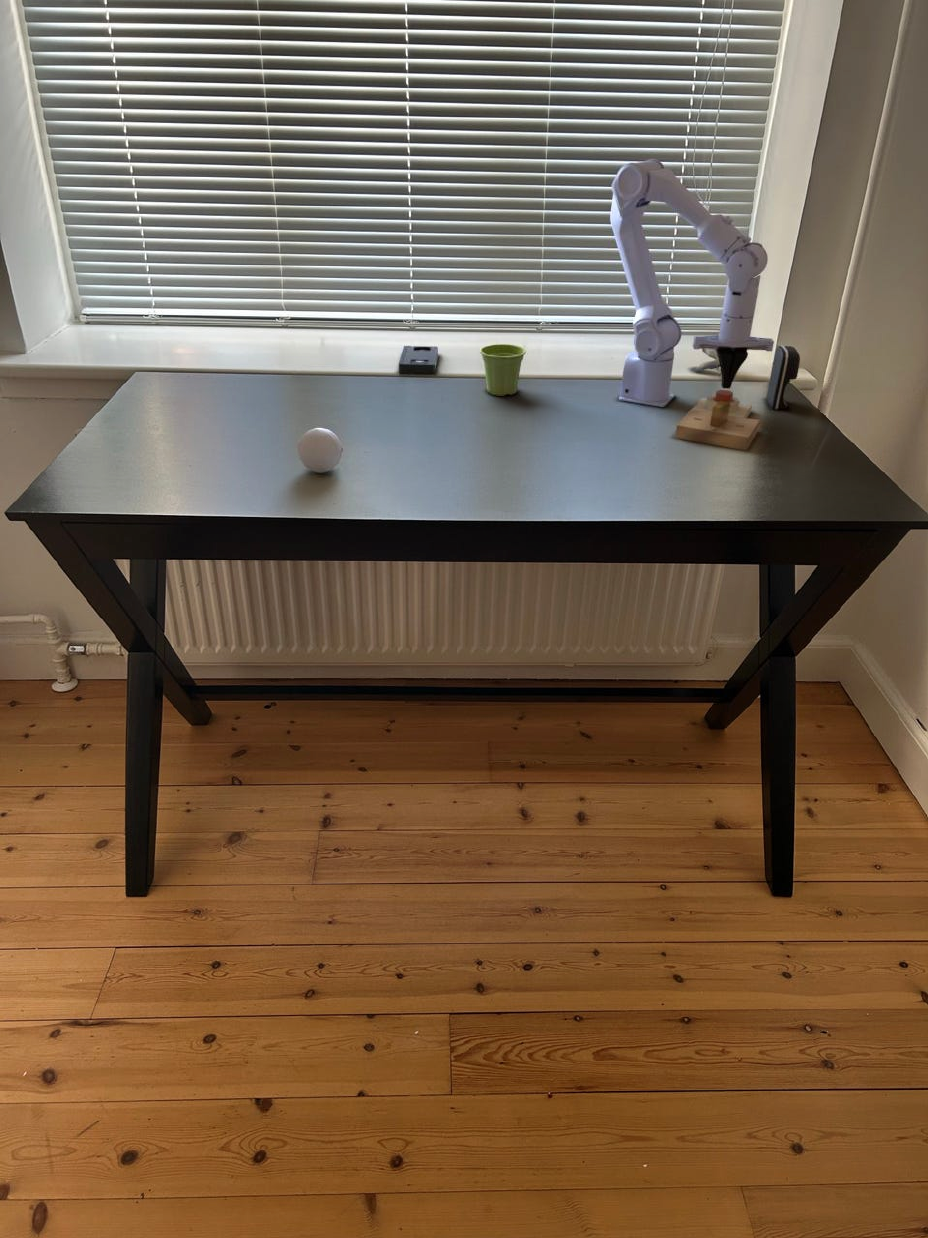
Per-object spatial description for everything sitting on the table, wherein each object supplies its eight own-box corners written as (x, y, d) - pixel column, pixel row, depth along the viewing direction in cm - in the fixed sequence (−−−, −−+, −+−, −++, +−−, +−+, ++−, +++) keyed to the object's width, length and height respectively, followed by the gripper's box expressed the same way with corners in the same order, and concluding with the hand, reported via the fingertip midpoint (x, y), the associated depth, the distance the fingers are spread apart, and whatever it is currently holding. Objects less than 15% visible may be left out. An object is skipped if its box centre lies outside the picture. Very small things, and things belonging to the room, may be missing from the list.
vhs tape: (434, 373, 195) (434, 364, 193) (399, 372, 195) (398, 363, 194) (437, 354, 206) (437, 346, 205) (404, 354, 207) (404, 345, 206)
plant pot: (472, 395, 182) (473, 353, 177) (488, 382, 189) (489, 341, 185) (515, 401, 179) (517, 358, 174) (529, 387, 187) (532, 346, 182)
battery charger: (791, 411, 175) (803, 353, 169) (771, 410, 176) (783, 352, 170) (784, 399, 181) (796, 343, 175) (765, 398, 182) (776, 342, 175)
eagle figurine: (738, 363, 199) (700, 350, 201) (744, 341, 192) (705, 329, 194) (725, 388, 196) (687, 375, 198) (731, 367, 190) (692, 354, 192)
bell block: (690, 416, 173) (692, 401, 171) (700, 404, 179) (703, 389, 177) (742, 424, 169) (744, 409, 167) (750, 412, 175) (753, 397, 173)
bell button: (712, 402, 172) (714, 393, 171) (716, 397, 174) (718, 388, 173) (729, 404, 170) (731, 396, 169) (733, 400, 173) (734, 391, 172)
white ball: (345, 478, 146) (342, 435, 142) (300, 481, 145) (296, 438, 141) (341, 455, 155) (338, 414, 151) (298, 457, 153) (294, 417, 149)
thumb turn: (716, 426, 160) (720, 406, 158) (709, 425, 161) (713, 404, 159) (727, 419, 164) (731, 399, 162) (720, 417, 165) (723, 397, 162)
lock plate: (674, 438, 163) (676, 424, 161) (689, 421, 170) (691, 408, 169) (746, 450, 158) (748, 436, 156) (757, 432, 165) (760, 419, 164)
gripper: (773, 310, 166) (759, 381, 174) (695, 308, 167) (685, 379, 174) (781, 319, 160) (767, 392, 168) (700, 317, 161) (689, 390, 169)
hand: (725, 386), depth 171 cm, fingers closed
